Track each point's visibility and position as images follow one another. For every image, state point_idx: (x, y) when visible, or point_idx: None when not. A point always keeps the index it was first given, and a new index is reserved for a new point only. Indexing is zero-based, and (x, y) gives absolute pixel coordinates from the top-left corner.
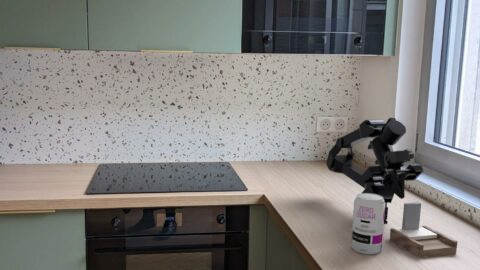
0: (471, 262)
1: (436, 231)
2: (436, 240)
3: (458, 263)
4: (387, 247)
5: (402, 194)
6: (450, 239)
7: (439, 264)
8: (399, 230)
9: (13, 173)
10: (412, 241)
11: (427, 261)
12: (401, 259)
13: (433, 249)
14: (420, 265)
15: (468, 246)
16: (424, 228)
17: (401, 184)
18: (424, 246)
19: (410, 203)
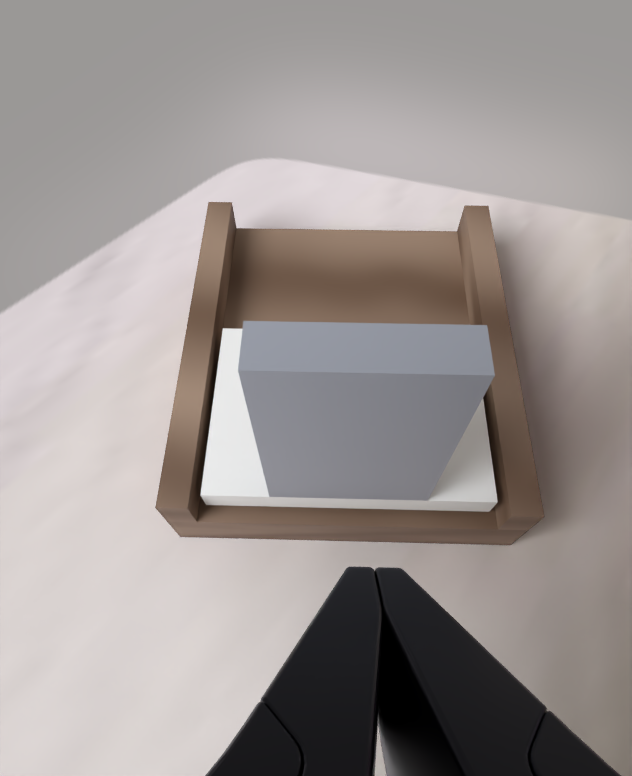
0: (239, 175)
1: (187, 363)
2: None
3: (311, 179)
4: (591, 427)
5: (387, 588)
6: (224, 230)
7: (414, 189)
8: (473, 469)
9: None
10: (497, 269)
11: (452, 223)
12: (583, 268)
13: (383, 232)
14: (517, 200)
15: (45, 320)
16: (213, 459)
17: (351, 753)
18: (411, 269)
19: (406, 344)
